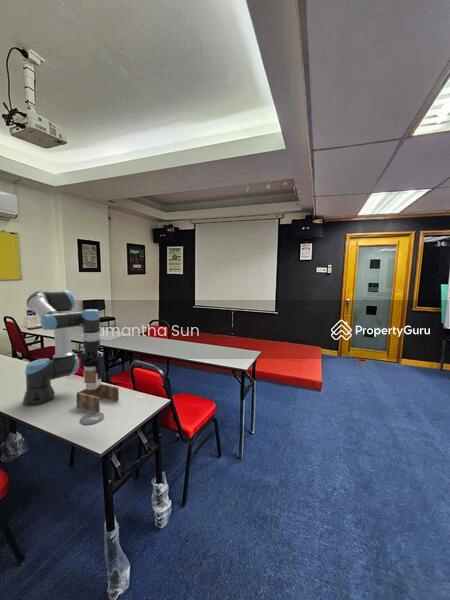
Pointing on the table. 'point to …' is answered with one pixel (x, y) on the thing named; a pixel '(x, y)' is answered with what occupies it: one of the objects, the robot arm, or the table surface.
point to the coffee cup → (90, 374)
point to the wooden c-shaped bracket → (96, 396)
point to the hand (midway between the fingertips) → (92, 383)
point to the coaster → (92, 418)
